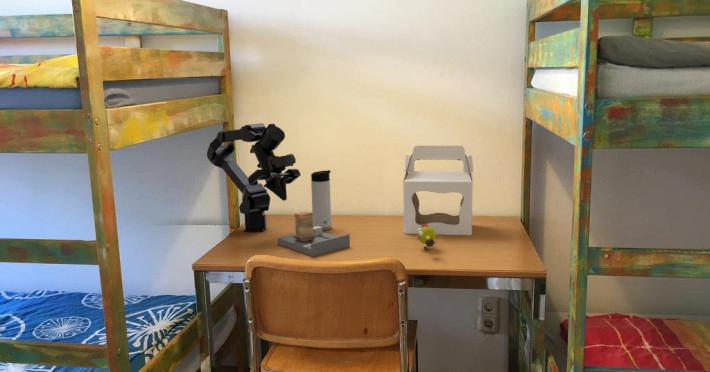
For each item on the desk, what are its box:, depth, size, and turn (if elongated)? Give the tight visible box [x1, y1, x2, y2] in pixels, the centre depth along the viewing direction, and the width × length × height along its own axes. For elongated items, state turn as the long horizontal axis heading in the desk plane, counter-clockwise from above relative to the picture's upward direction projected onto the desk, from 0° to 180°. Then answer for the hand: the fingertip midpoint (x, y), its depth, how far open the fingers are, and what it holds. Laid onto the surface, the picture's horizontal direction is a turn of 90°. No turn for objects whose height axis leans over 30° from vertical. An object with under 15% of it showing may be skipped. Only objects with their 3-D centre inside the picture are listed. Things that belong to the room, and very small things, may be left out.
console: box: [277, 226, 351, 257], centre depth 182 cm, size 18×14×4 cm
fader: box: [294, 210, 315, 242], centre depth 181 cm, size 5×4×8 cm
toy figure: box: [416, 224, 437, 251], centre depth 176 cm, size 18×6×7 cm, turn 178°
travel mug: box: [310, 169, 332, 232], centre depth 200 cm, size 6×7×20 cm
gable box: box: [402, 145, 474, 236], centre depth 195 cm, size 22×13×28 cm, turn 79°
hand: (285, 200), depth 188 cm, fingers closed
